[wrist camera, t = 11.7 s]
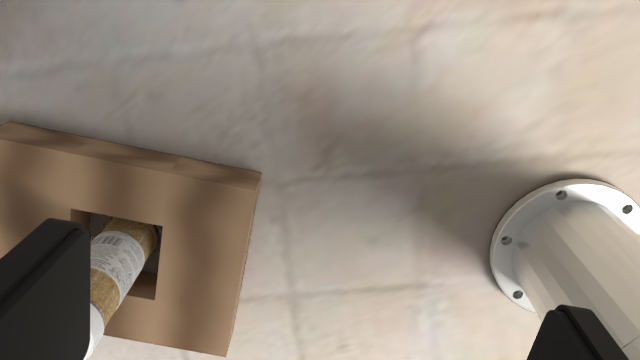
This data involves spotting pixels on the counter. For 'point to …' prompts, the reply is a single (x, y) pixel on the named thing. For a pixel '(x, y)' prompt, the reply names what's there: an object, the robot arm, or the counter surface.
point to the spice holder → (148, 207)
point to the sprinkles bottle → (115, 269)
